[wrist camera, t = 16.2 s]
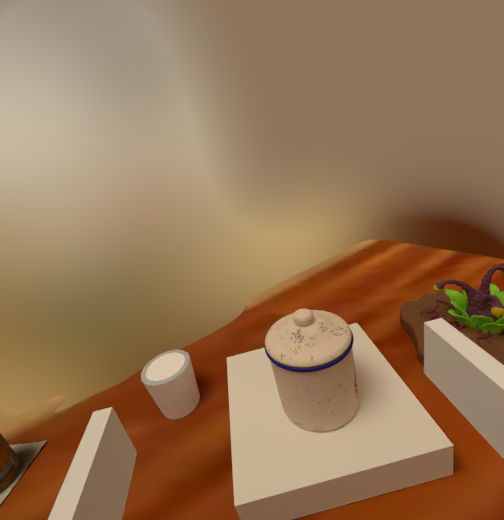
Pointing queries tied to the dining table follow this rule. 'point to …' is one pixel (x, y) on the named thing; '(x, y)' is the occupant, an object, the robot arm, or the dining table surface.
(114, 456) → the robot arm
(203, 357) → the dining table surface
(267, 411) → the plinth
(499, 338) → the plant
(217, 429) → the dining table surface
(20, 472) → the condiment
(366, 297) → the dining table surface
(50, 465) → the dining table surface
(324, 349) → the teacup with lid
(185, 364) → the white cup
